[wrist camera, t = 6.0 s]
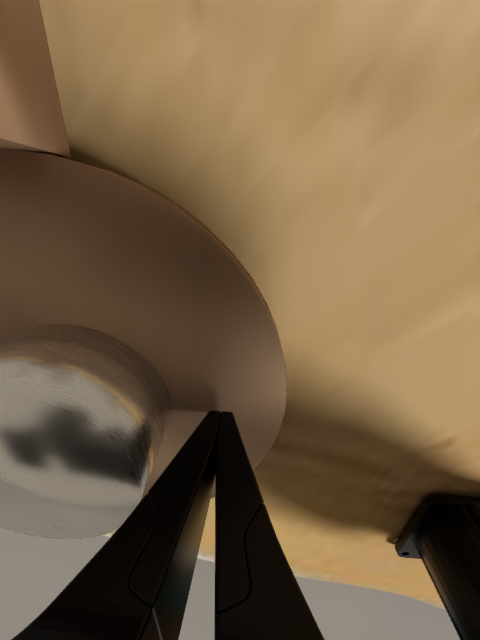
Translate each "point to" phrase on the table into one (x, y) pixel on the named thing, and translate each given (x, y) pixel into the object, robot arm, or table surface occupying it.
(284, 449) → the table surface
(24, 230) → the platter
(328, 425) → the table surface
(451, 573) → the robot arm
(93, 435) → the lid
